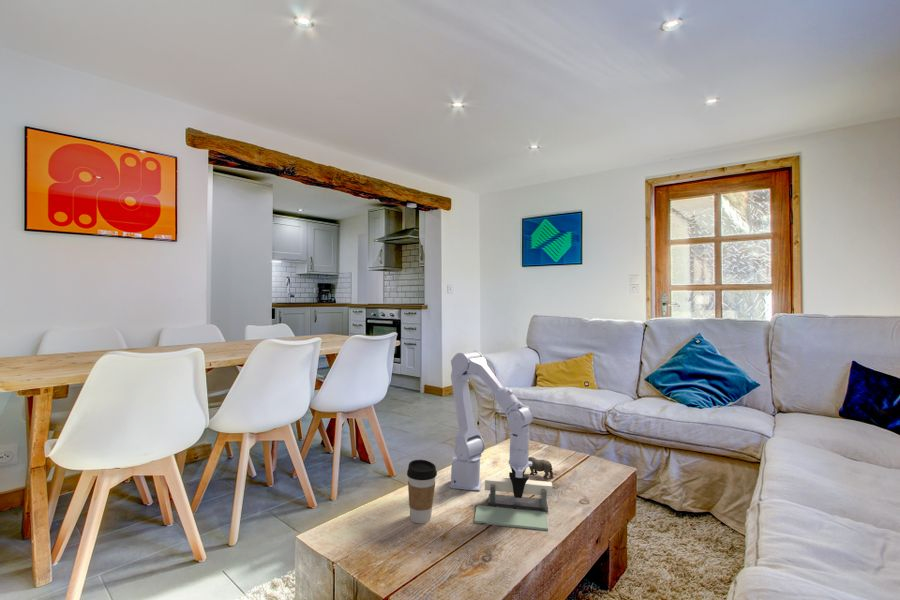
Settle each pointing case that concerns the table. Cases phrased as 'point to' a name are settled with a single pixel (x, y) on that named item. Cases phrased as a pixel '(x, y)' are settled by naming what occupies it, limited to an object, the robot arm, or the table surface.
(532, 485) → the rail
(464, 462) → the robot arm
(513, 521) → the mat
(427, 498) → the coffee cup
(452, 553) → the table surface
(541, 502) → the rack
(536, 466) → the rhino figurine
